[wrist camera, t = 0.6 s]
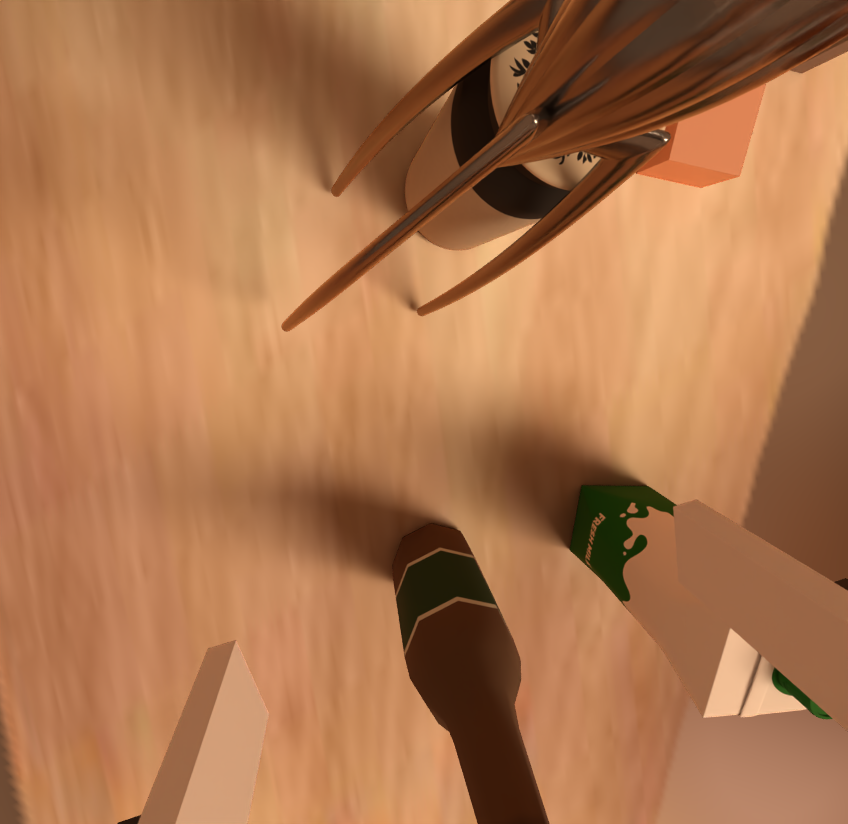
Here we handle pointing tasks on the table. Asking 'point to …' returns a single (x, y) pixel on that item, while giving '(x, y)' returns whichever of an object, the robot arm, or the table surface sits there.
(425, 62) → the table surface
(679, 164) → the tile block
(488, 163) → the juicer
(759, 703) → the milk carton
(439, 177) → the travel mug
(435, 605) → the beer bottle
